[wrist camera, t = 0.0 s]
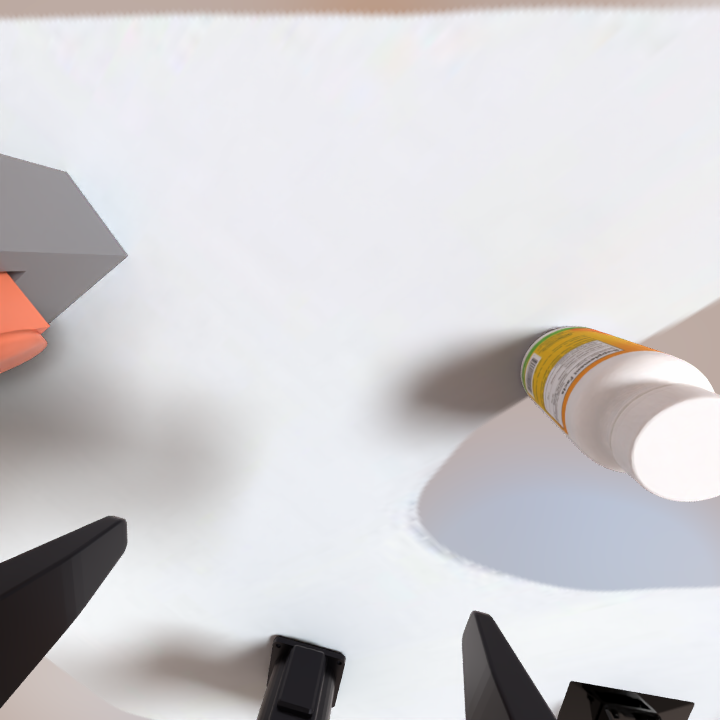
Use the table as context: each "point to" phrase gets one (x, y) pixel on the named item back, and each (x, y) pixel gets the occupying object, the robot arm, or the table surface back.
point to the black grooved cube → (619, 705)
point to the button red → (18, 326)
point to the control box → (51, 236)
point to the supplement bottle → (629, 409)
